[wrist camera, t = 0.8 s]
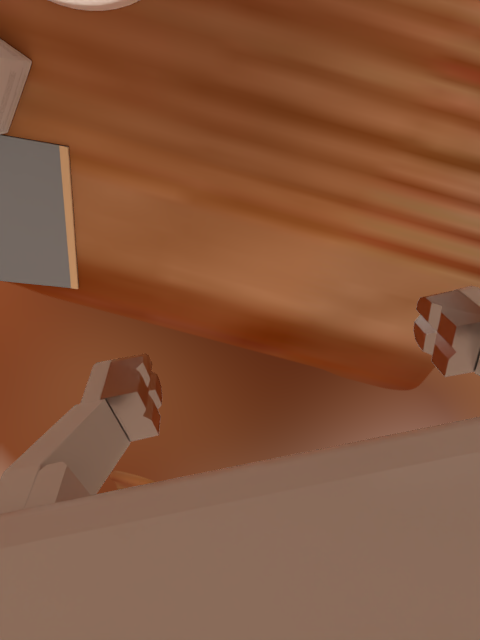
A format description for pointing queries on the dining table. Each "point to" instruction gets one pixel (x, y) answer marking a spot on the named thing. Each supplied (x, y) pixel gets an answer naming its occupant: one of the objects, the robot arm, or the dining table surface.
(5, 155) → the grey flat slab
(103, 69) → the dining table surface
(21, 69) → the supplement box
